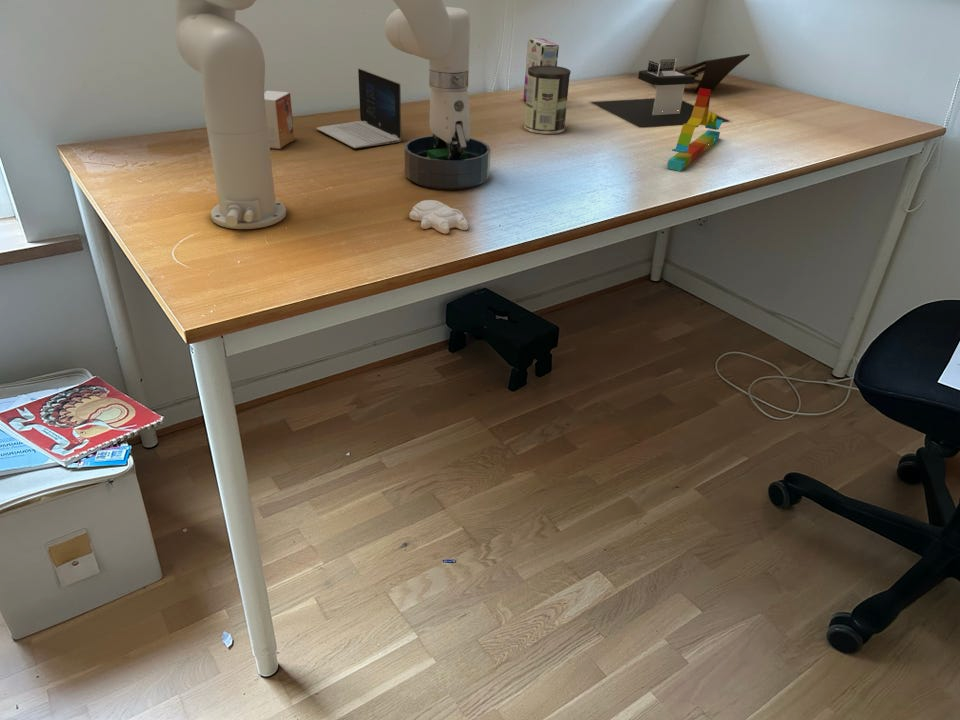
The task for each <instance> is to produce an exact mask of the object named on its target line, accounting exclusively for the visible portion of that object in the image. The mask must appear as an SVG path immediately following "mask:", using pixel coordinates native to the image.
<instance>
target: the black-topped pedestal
mask: <svg viewBox="0 0 960 720" xmlns="http://www.w3.org/2000/svg"><path fill="white" fill-rule="evenodd" d="M647 64H648V65H647V69H646V70H639V71H638V75H637V76H638V77H637V79H638V80H640V81H642V82H645V83H647V84H650V85H652V86H653V87H654V88H655V89H656V90H655V96H654V98H641V99H640V98H639V99H637V98H636V99H622V100H621V99H620V100H603V101H602V100H601V101H592V103H593V104H594V105H597V106H599V107H600V108H603V109H604V110H606V111H608V112H610V113H612V114H614V115H616V116H618V117H620V118H621V119H623V120H625V121H627V122H629V123H632V124H633V125H636V126H637V127H640V128H643V127H644V128H645V127H647V128H648V127H660V126H675V125H683V124H686V123H687V122H688V121H689V119H690V118H691V115H692V112H693V108H694V105H695V104H694V105H693V104H691V103H688V102H687V101H684V100H683V98H684V92H685V87H686V85H695V82H696V81H695V80H696V77H695V76H694V75H691V74H688V73H689V72H688V73H686V72H683V71H680V70H681V69H677V68H676V65H677V58H675V59H672V58H671V59H661V58H659V60H658V62H655V61H653V60H651V59H648V63H647ZM677 110H679V111H677ZM662 111H663V112H662ZM717 119H718V120H723V121H722V122H729V121H730V120H729V119H727V118H724V117H722V116H719V115H717Z"/></svg>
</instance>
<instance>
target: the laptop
mask: <svg viewBox="0 0 960 720" xmlns="http://www.w3.org/2000/svg"><path fill="white" fill-rule="evenodd" d="M357 70H358V71H357V72H358V73H357V75H358V93H359V94H358V95H359V96H358V98H359V116H360V117H359V118H360V120H356V121H351V122H344V123H343V122H342V123H337V124H336V123H335V124H329V125H322V126H318V127H317V126H316V128H315V129H316V130H318V131H320V132H321V133H323V134H325V135H327V136H329V137H331V138H333V139H335V140H337V141H339V142H341V143H343V144H345V145H347V146H349V147H350V148H353V149H361V148H368V147H374V146H381V145H388V144H395V143H400V142H402V140H401V139H402V98H401V97H402V96H401V95H402V93H401V90H402V89H401V87H402V86H401V82H397V81H395V80H393V79H390V78H387V77H384V76H382V75H379V74H376V73H373V72H371V71H368V70H365V69H362V68H360V67H359V68H358V69H357Z"/></svg>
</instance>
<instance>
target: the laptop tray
mask: <svg viewBox="0 0 960 720" xmlns="http://www.w3.org/2000/svg"><path fill="white" fill-rule="evenodd" d="M748 57H750V53H746V54H739V55H734V56H728V57H721V58H714V59H707V60H703V61H700V62H697V63H695V64H693V65H689V66H688V67H685V68H682V69H679V70H680V71H683V72H686V73H688V74H691V75H694V76H695V78H698V77H699V75H701V74H702V77H701V80H700V82H699V83H698V85H697V87H696V88H695V90H694V92H695V93H698V92H699V88H704V89H710V90H714V89H715V88H716V87H717V86H718V85H719V84H720V83H721V82H722V81H723V80H724V79H725V77H727V76H728V74H729V73H730V72H732V71H733V70H734V69H735V68H736V67H737V66H738V65H740V64H741V63H742V62H743V61H745V60H746V59H747V58H748Z"/></svg>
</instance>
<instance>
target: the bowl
mask: <svg viewBox="0 0 960 720" xmlns="http://www.w3.org/2000/svg"><path fill="white" fill-rule="evenodd" d="M452 141H457V140H456V138H453V139H452ZM433 144H434V138H433V135H425V136H419V137H416V138H413V139H411V140H409V141H406V143H405V144H404V145H403V151H404V152H403V155H404V157H403V158H404V163H403V164H404V176H405V177H406V178H407V179H408V180H409V181H411V182H412V183H414V184H416V185H419V186H421V187H425V188H429V189H433V190H434V189H435V190H447V191H450V190H452V191H453V190H466V189H470V188H474V187H477V186H479V185H481V184H482V183H485V182H486V181H487V180H488V179H489V177H490V167H491V152H492V151H491V147H490V145H488V143H485V142H484V141H481V140H479V139H476V138H472V137H470V140H469V141H468V142H466V148H465V149H464V151H465V152H467V153H468V159H464V160H439V159H430V158H427V150H433V149H434V146H433ZM456 145H457V144H456ZM456 145H451V147H456Z"/></svg>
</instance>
